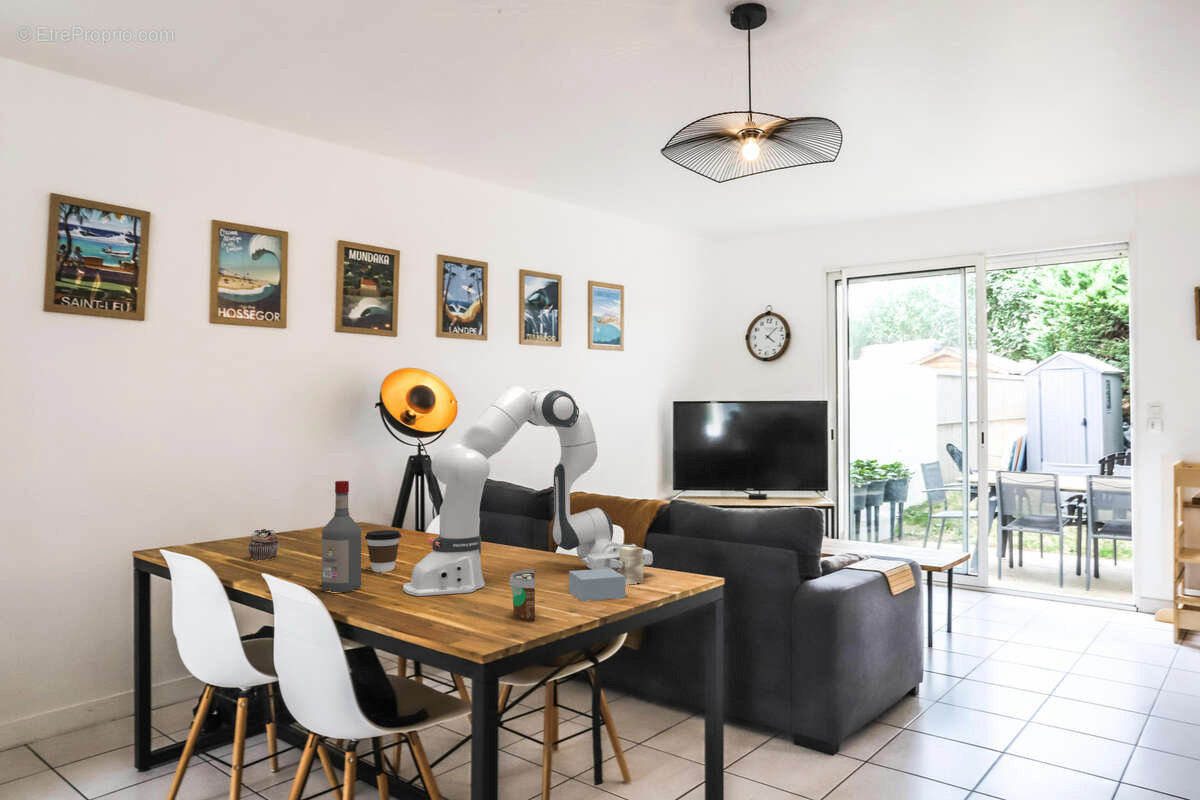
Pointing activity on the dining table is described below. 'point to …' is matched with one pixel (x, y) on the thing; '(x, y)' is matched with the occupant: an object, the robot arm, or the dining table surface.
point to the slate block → (596, 584)
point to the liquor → (341, 547)
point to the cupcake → (263, 545)
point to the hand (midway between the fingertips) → (632, 564)
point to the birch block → (632, 564)
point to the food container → (523, 594)
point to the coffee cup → (383, 549)
